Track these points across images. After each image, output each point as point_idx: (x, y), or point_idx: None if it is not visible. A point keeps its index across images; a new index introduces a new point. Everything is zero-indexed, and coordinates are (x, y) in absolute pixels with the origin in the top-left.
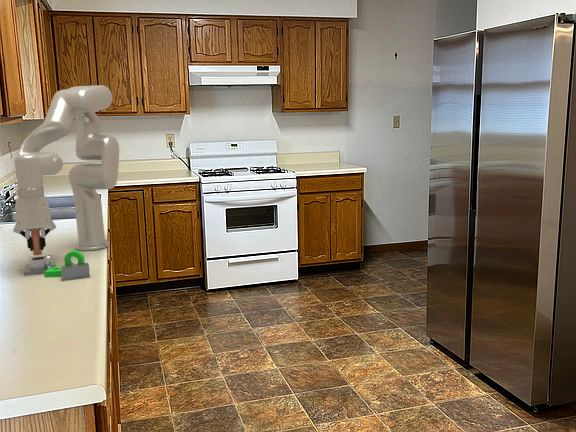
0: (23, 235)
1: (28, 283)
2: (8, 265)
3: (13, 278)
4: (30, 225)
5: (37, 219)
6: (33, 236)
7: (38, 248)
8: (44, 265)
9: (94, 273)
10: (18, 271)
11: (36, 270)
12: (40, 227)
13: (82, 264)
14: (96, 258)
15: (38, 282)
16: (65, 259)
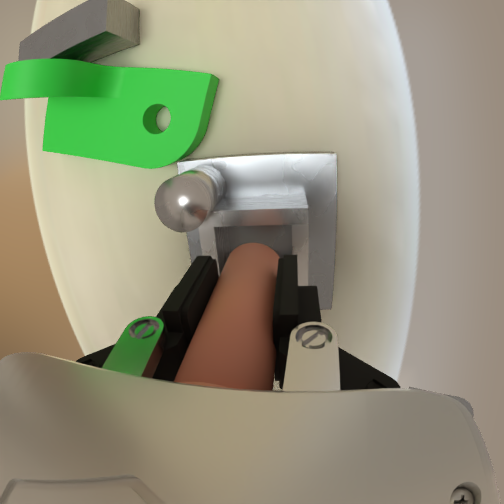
0: (359, 366)
1: (286, 4)
2: (389, 363)
3: (378, 129)
4: (218, 449)
5: (37, 499)
6: (244, 341)
7: (231, 266)
8: (225, 200)
9: (43, 98)
10: (362, 259)
11: (267, 161)
12: (81, 372)
13: (33, 47)
14: (82, 316)
15: (240, 4)
16: (70, 60)
